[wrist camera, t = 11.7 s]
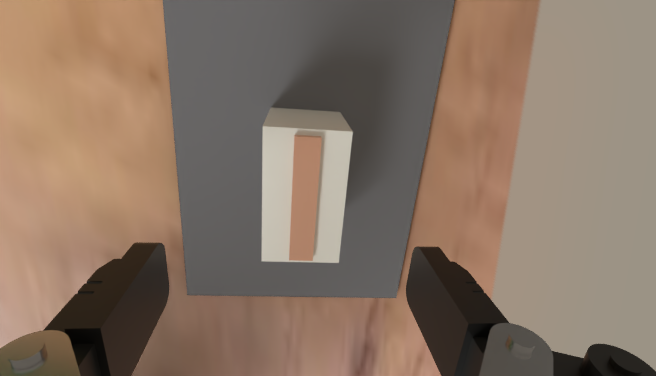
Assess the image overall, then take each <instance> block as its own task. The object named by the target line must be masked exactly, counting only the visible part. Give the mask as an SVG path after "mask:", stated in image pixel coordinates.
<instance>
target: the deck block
mask: <svg viewBox="0 0 656 376" xmlns="http://www.w3.org/2000/svg"><path fill="white" fill-rule="evenodd" d="M352 135H353V131H352V130H351V128H350V126H349V125H348V123H347V122H346V120H345V119H344V117H343V116H342V114H341V113H340V112H333V111H318V110H303V109H288V108H273V107H271V108H270V110H269V113H268V115H267V117H266V119H265V122H264V124H263V139H262V260H261V261H267V262H318V263H339V255H340V246H341V237H342V228H343V218H344V209H345V200H346V190H347V181H348V172H349V163H350V153H351V144H352Z"/></svg>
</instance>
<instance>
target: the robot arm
mask: <svg viewBox="0 0 656 376" xmlns="http://www.w3.org/2000/svg"><path fill="white" fill-rule="evenodd" d="M168 295H169V280H168V272H167V263H166V254H165V248H164V245H163V244H162V243H134V244H133V245H132V246H131V248H130V249H129V250H128V251H127V252H126V254H125V255H124V256H123V257H122V259H113V260H112V261H110V262H109V263H107V264H105V265H104V266H102V267H100V268H99V269H97V270H96V272H95V273H94V274H93V275H92V276H91V277H90V278H89V279H88V281H87V284H84V285H83V286H82V287H81V289H80V290H79V291H78V294H75V295H74V296H73V298H72V299H71V300H70V301H69V302H68V303H67V304H66V305H65V307H64V308H63V309H62V310H61V311H60V312H59V313H58V314H57V316H56V317H55V318H54V319H53V320H52V321H51V322H50V323H49V325H48V326H47V327H46V328H45V329H44V330H43V331H39V332H34V333H31V334H28V335H25V336H22V337H20V338H18V339H16V340H14V341H12V342H10V343H8V344H6V345H5V346H3V347H2V348H0V376H131V375H132V373H133V371H134V369H135V367H136V365H137V363H138V361H139V359H140V357H141V355H142V353H143V351H144V349H145V347H146V345H147V342H148V340H149V338H150V336H151V334H152V332H153V330H154V328H155V326H156V324H157V322H158V320H159V318H160V316H161V314H162V312H163V310H164V308H165V306H166V303H167V300H168ZM406 296H407V301H408V304H409V307H410V309H411V311H412V313H413V315H414V317H415V320H416V322H417V324H418V326H419V328H420V330H421V333H422V335H423V337H424V339H425V341H426V343H427V346H428V348H429V350H430V352H431V354H432V356H433V359H434V361H435V363H436V365H437V367H438V369H439V372H440V374H441V376H656V371H655V370H653V369H652V368H651V367H650V366H649V365H648V364H646V363H645V362H644V361H642V360H641V359H640V358H638V357H636V356H635V355H633V354H631V353H629V352H627V351H625V350H623V349H620V348H617V347H614V346H611V345H607V344H594V345H592V346H590V347H589V348H588V350H587V353H586V355H585V357H584V358H580V357H575V356H571V355H567V354H562V353H558V352H554V351H551V349H550V347H549V346H548V345H547V343H546V342H545V341H544V340H543V339H542V338H540V337H539V336H538V335H537V334H535V333H534V332H532V331H530V330H528V329H526V328H524V327H522V326H519V325H515V324H511V323H509V322H508V321H507V319H506V318H505V317H504V316H503V315H502V313H501V312H500V311H499V309H498V308H497V307H496V306H495V305H494V303H493V302H492V301H491V299H490V298H489V297H488V296H487V294H486V293H484V291H483V289H482V288H481V287H480V286H479V284H477V283H476V281H475V279H474V278H473V277H472V276H471V274H470V273H469V272H468V271H467V270H465V269H464V268H463V267H461V266H460V265H458V264H457V263H455V262H450V261H449V260H448V258H447V257H446V256H445V254H444V253H443V252H442V250H441V249H440V248H439V247H415V248H414V250H413V253H412V258H411V264H410V269H409V274H408V280H407V285H406Z"/></svg>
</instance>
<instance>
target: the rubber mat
mask: <svg viewBox="0 0 656 376" xmlns="http://www.w3.org/2000/svg"><path fill="white" fill-rule="evenodd" d="M454 2H455V0H163V9H164V21H165V33H166V44H167V56H168V68H169V80H170V92H171V104H172V116H173V128H174V140H175V152H176V164H177V176H178V188H179V200H180V211H181V223H182V235H183V247H184V259H185V271H186V283H187V295H212V296H286V297H360V298H396V296H397V291H398V286H399V281H400V276H401V271H402V266H403V261H404V255H405V250H406V245H407V240H408V235H409V230H410V225H411V220H412V215H413V210H414V205H415V200H416V195H417V190H418V184H419V179H420V174H421V169H422V164H423V159H424V154H425V149H426V144H427V139H428V134H429V129H430V124H431V119H432V113H433V108H434V103H435V98H436V93H437V88H438V83H439V78H440V73H441V68H442V63H443V58H444V53H445V48H446V43H447V37H448V32H449V27H450V22H451V17H452V12H453V7H454ZM271 107H273V108H288V109H303V110H318V111H333V112H340V113H341V114H342V116H343V117H344V119H345V120H346V122H347V123H348V125H349V126H350V128H351V130H352V131H353V135H352V144H351V153H350V163H349V172H348V181H347V190H346V200H345V209H344V218H343V228H342V237H341V246H340V255H339V263H318V262H267V261H261V260H262V139H263V124H264V122H265V119H266V117H267V115H268V113H269V110H270V108H271Z"/></svg>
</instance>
